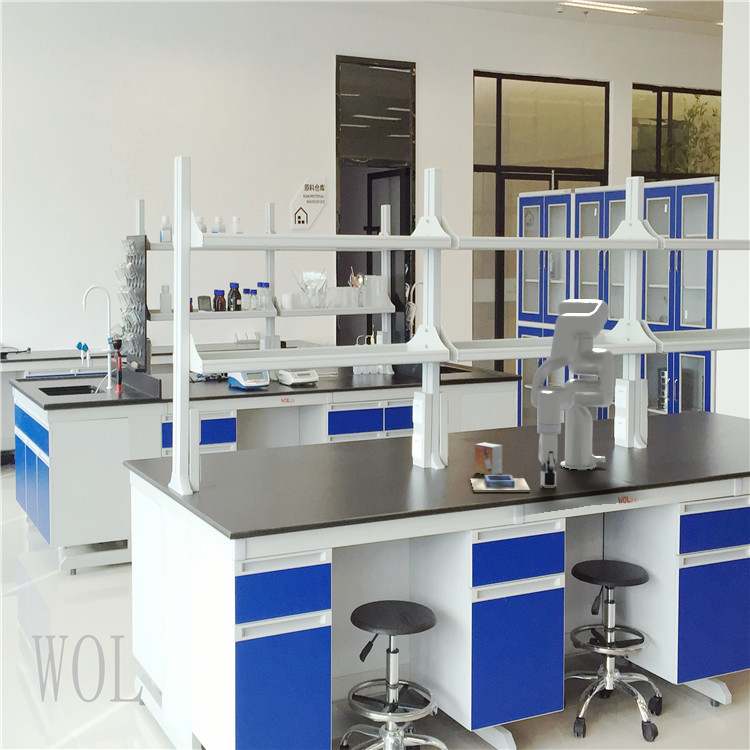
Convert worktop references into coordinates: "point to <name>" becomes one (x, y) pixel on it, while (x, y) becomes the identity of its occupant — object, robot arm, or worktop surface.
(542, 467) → the gray domed white cylinder
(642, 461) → the worktop surface
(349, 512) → the worktop surface
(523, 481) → the mount plate
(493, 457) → the small box
